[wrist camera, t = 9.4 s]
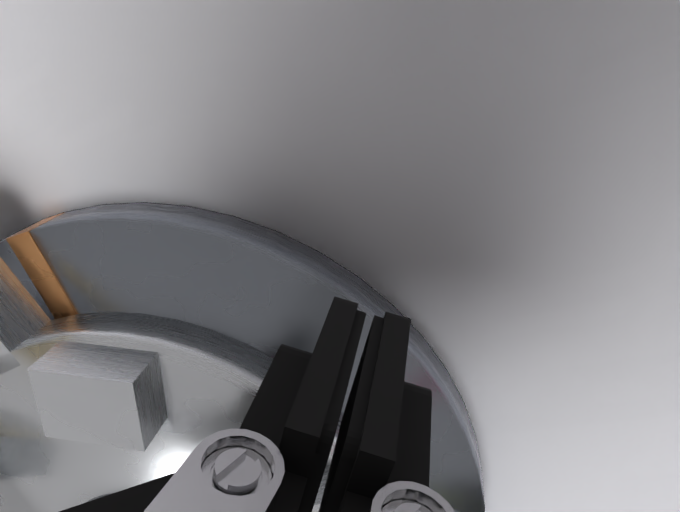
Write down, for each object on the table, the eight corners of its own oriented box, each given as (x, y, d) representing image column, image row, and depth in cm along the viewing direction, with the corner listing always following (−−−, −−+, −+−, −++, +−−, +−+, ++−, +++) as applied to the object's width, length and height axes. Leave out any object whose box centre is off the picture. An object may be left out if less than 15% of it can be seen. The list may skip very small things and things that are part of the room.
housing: (-93, 123, 16) (-146, 134, 14) (586, 316, 14) (601, 348, 13) (-36, 555, 24) (-64, 587, 23) (390, 697, 23) (387, 740, 22)
